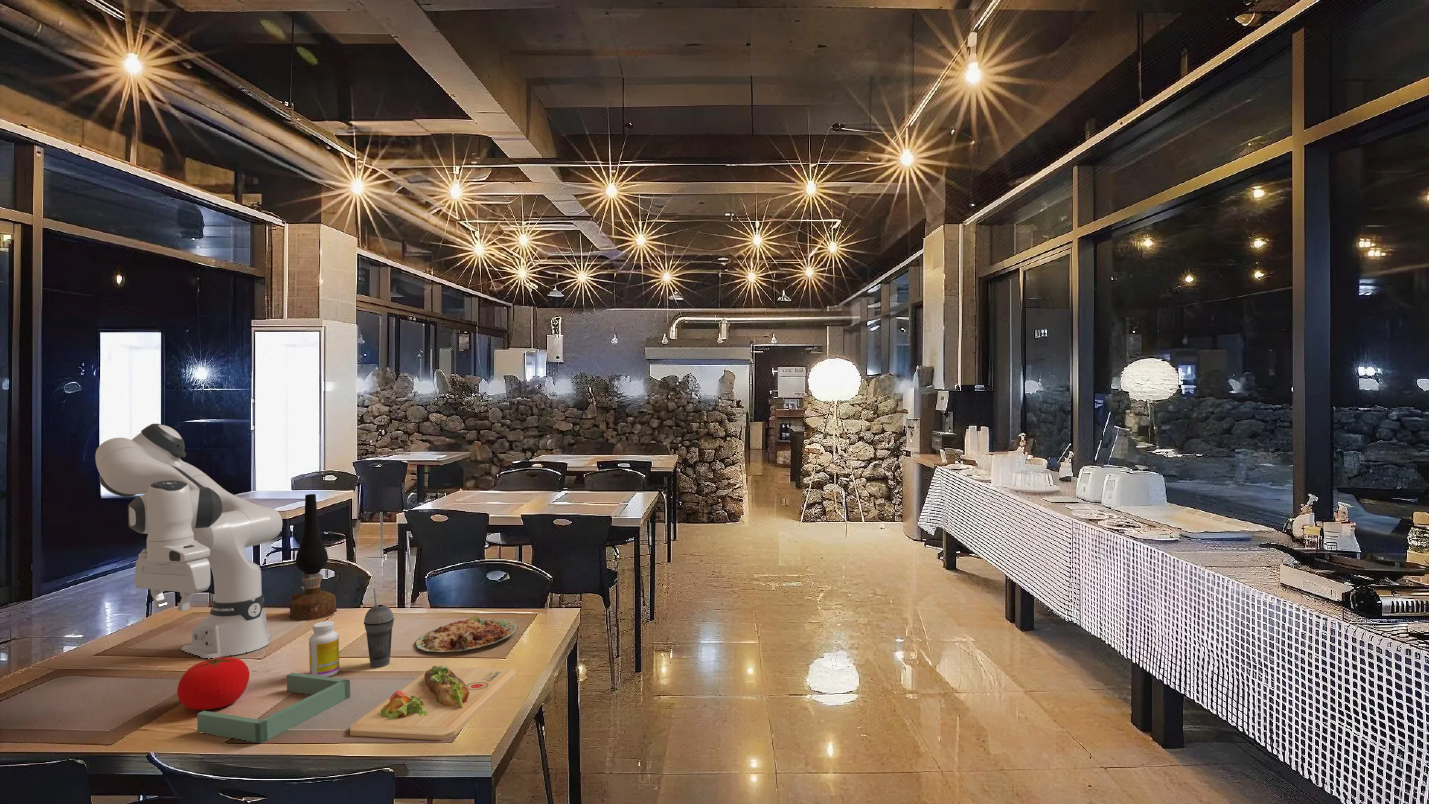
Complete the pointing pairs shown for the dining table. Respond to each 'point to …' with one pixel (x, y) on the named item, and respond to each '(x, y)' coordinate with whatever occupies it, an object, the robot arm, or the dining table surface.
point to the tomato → (213, 683)
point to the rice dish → (466, 635)
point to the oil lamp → (311, 570)
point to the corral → (258, 731)
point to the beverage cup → (379, 633)
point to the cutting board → (434, 703)
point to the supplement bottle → (324, 650)
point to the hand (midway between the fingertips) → (172, 608)
